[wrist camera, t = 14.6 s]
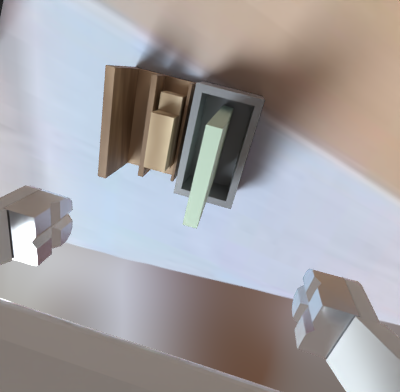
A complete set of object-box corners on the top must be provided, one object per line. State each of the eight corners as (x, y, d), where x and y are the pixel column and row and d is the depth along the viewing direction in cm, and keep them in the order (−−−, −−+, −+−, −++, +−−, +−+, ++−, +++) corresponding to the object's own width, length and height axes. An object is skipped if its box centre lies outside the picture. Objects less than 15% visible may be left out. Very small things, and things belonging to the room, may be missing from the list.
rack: (197, 83, 42) (183, 85, 33) (178, 173, 48) (163, 194, 40) (135, 66, 42) (105, 65, 34) (124, 158, 49) (97, 176, 40)
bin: (262, 96, 41) (264, 100, 35) (233, 191, 48) (230, 209, 42) (204, 81, 42) (196, 82, 35) (183, 177, 48) (173, 192, 42)
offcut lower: (187, 95, 41) (182, 97, 39) (173, 163, 46) (169, 169, 43) (166, 90, 42) (160, 91, 39) (155, 158, 46) (149, 164, 44)
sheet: (233, 107, 41) (222, 129, 25) (215, 174, 46) (196, 228, 30) (223, 105, 42) (206, 124, 25) (206, 171, 46) (182, 224, 30)
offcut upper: (179, 115, 40) (174, 118, 37) (169, 166, 43) (164, 172, 40) (158, 109, 40) (151, 112, 37) (150, 161, 43) (143, 166, 41)
